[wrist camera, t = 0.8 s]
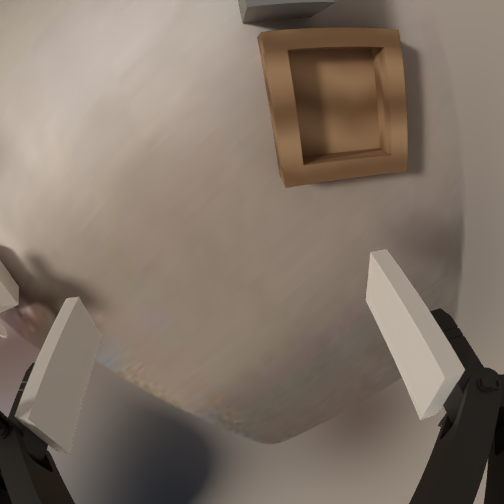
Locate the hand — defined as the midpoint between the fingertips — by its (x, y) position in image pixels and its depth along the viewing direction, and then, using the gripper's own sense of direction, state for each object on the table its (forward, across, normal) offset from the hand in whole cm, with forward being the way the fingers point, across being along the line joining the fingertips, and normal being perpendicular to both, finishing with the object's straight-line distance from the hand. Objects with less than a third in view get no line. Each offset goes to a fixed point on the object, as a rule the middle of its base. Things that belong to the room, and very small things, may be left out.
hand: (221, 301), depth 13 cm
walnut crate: (+23, +12, +5) cm, 26 cm away
